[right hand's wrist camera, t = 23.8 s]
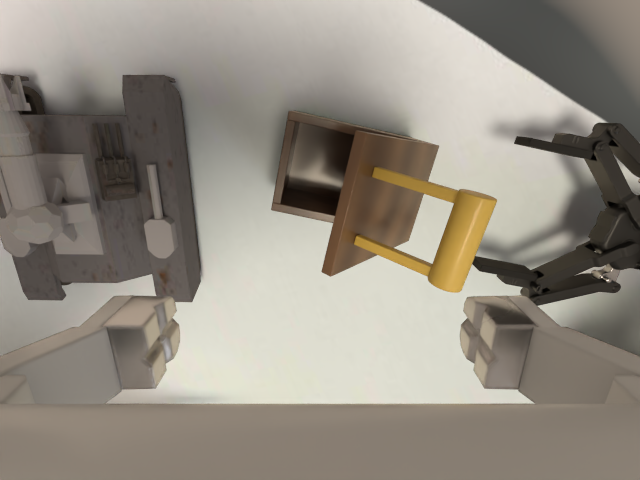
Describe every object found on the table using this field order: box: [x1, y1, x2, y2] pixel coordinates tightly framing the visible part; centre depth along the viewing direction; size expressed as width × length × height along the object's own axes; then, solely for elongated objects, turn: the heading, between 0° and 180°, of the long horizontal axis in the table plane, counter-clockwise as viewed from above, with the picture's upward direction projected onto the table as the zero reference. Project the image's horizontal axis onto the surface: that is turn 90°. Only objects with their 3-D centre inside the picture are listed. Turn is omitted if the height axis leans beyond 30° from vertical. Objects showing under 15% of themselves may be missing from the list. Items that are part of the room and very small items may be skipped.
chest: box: [271, 111, 431, 223], centre depth 39 cm, size 14×10×9 cm
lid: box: [322, 131, 497, 292], centre depth 27 cm, size 15×10×8 cm
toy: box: [0, 74, 201, 302], centre depth 37 cm, size 25×20×15 cm
